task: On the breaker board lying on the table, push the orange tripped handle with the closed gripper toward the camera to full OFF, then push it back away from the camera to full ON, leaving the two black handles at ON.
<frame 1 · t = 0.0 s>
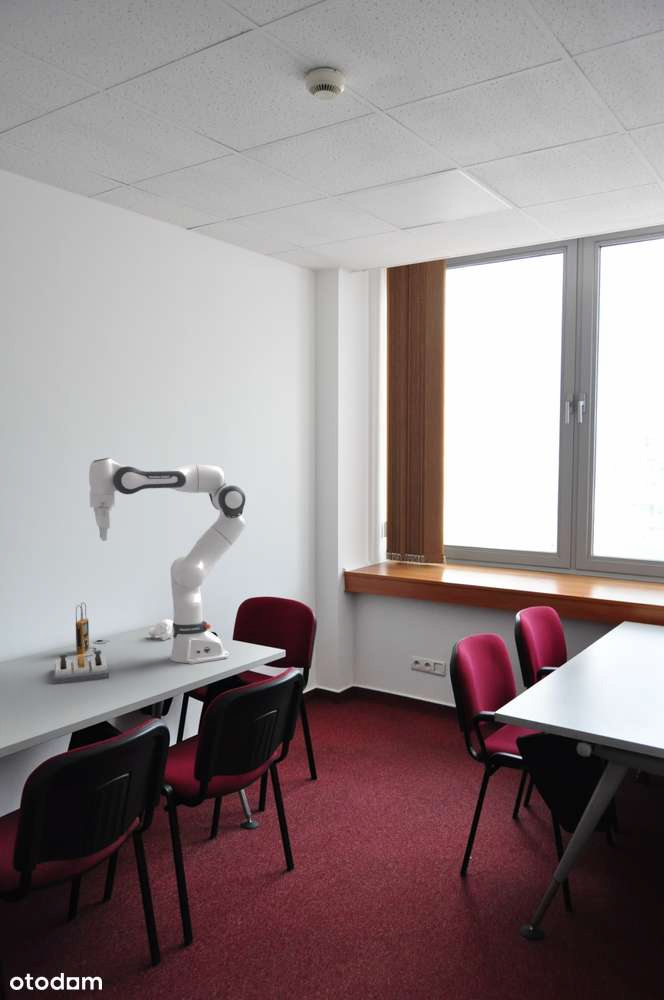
hand: (103, 539, 274), 48 cm above the table, fingers open, 8 cm apart
multimeter: (91, 653, 298), on the table
breaker board: (81, 673, 268), on the table
orange breaker: (80, 661, 267), point 5 cm above the table, slide at 0.0 cm
black breaker near arm: (97, 657, 273), point 5 cm above the table, slide at 3.5 cm
white crumpled lump: (160, 639, 320), on the table
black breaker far: (63, 660, 269), point 5 cm above the table, slide at 3.5 cm
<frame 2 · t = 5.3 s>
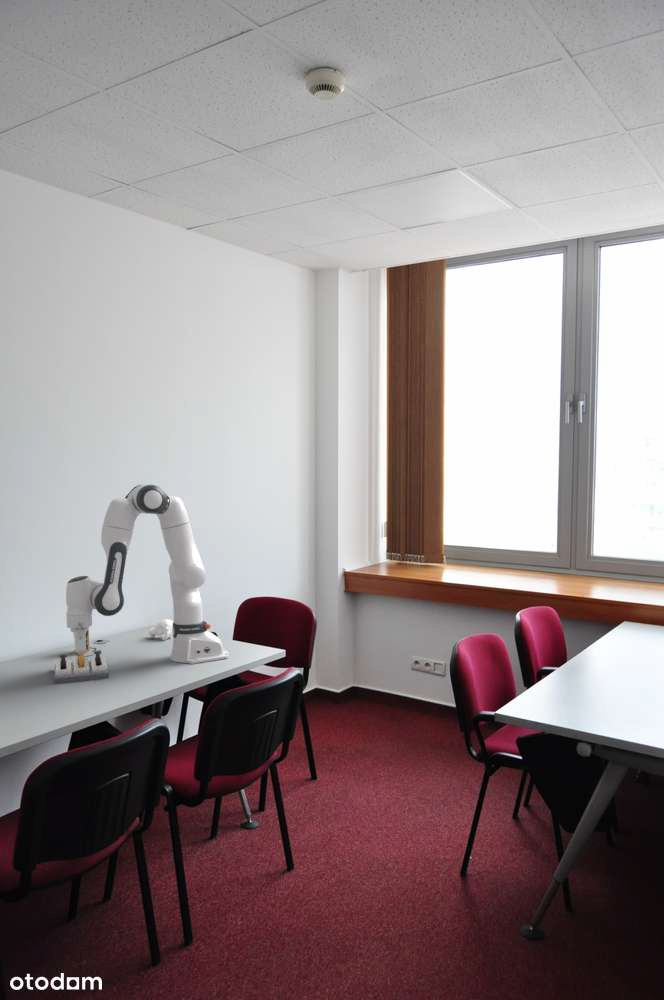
hand: (80, 658, 269), 5 cm above the table, fingers closed
orange breaker: (80, 662, 267), point 5 cm above the table, slide at -0.9 cm, touching gripper
everything else where it was.
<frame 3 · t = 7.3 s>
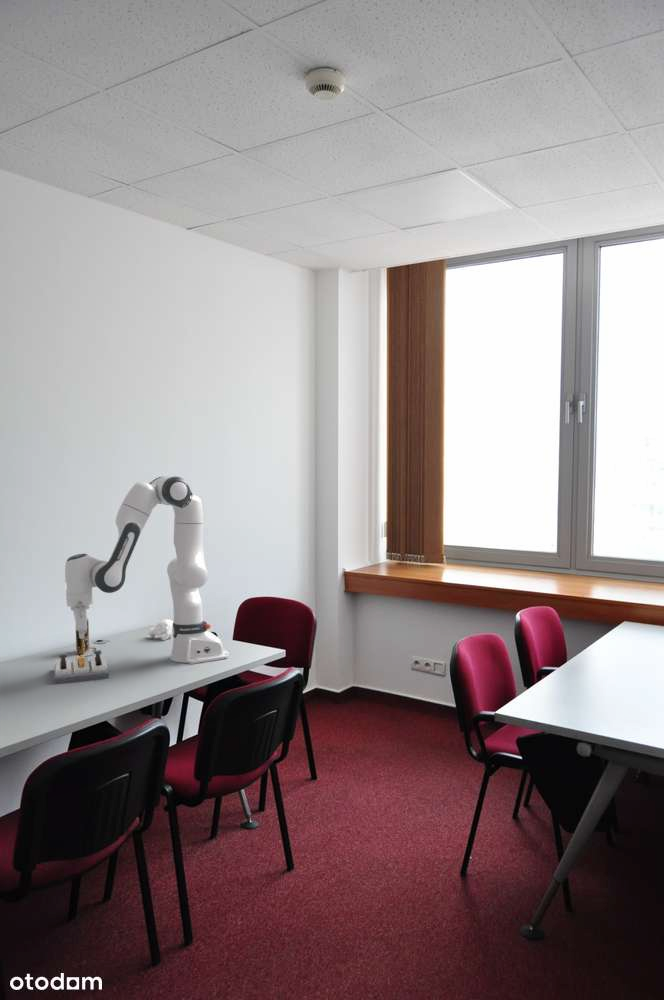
hand: (81, 637, 265), 14 cm above the table, fingers closed
orange breaker: (81, 663, 264), point 5 cm above the table, slide at -3.6 cm
everything else where it was.
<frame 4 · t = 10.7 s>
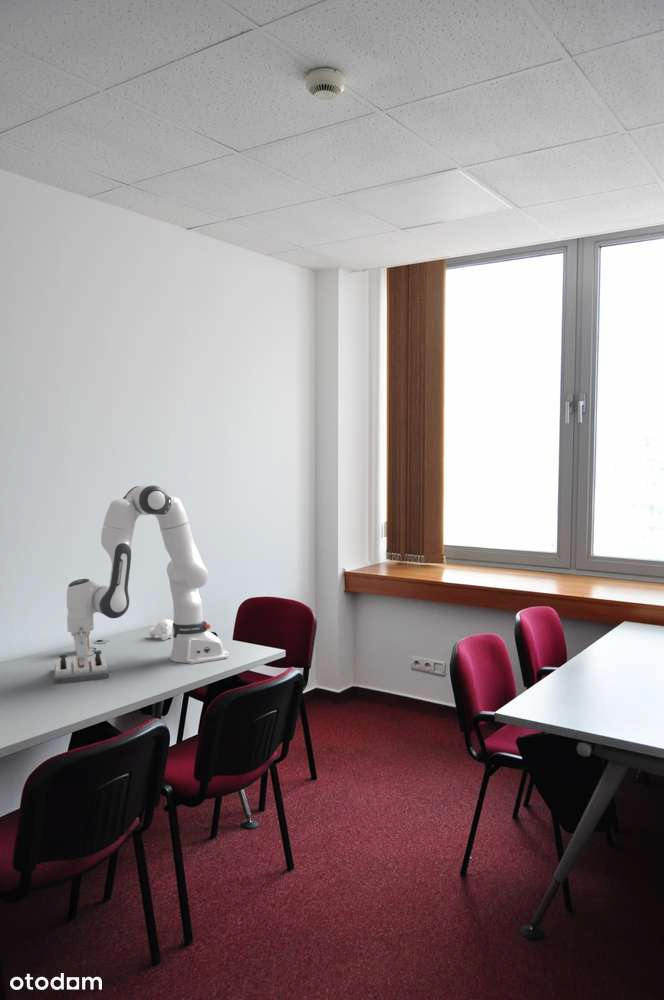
hand: (81, 663, 262), 5 cm above the table, fingers closed
orange breaker: (81, 663, 265), point 5 cm above the table, slide at -2.8 cm, touching gripper
everything else where it was.
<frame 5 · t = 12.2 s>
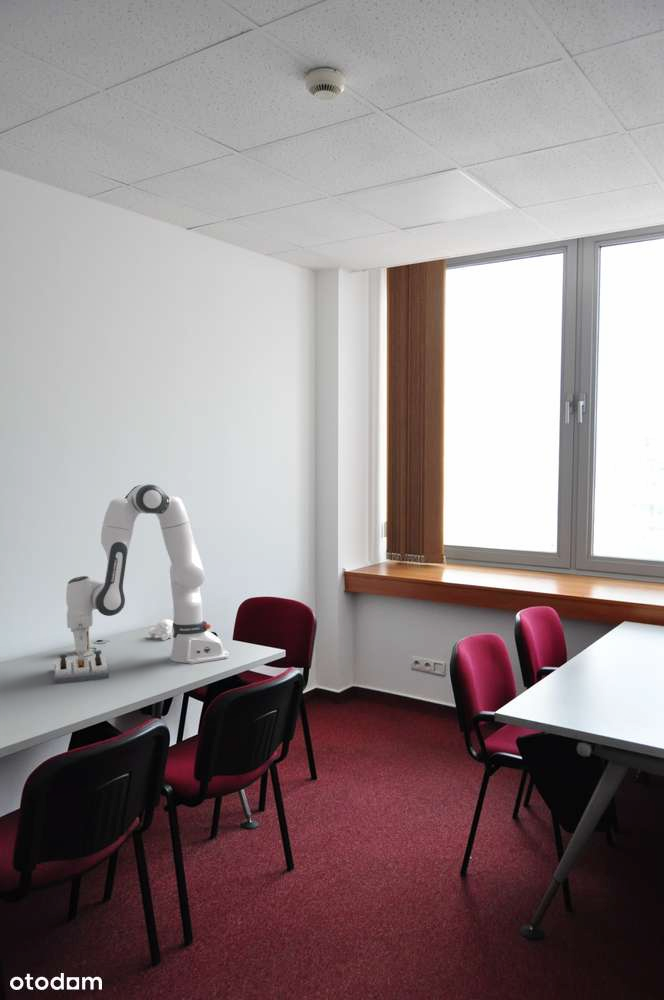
hand: (81, 659, 269), 5 cm above the table, fingers closed
orange breaker: (80, 658, 271), point 5 cm above the table, slide at 3.8 cm, touching gripper
everything else where it was.
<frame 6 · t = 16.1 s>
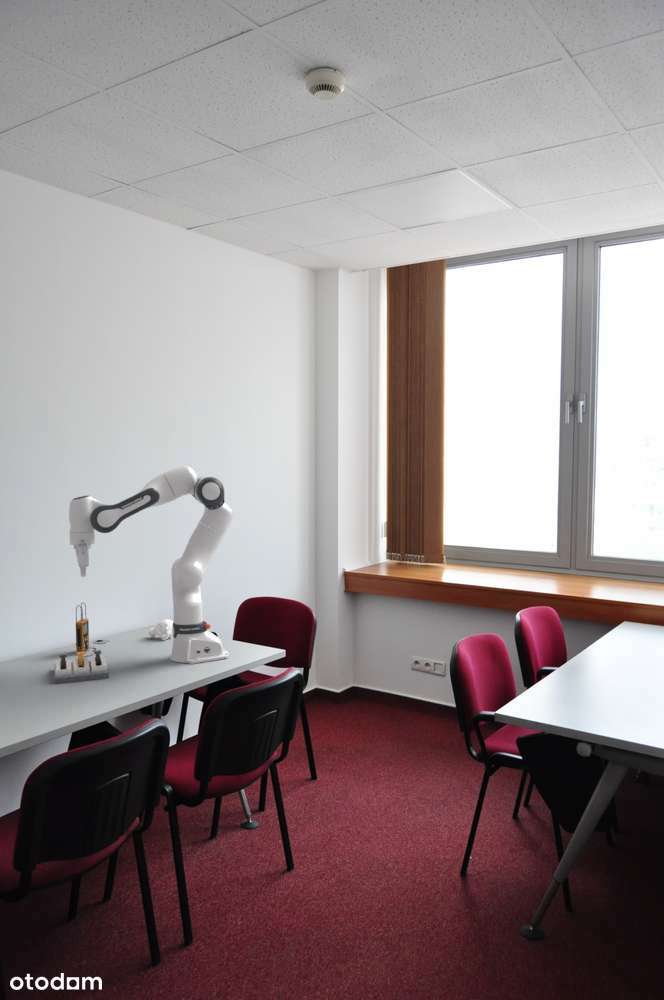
hand: (83, 576, 276), 34 cm above the table, fingers closed
orange breaker: (80, 658, 271), point 5 cm above the table, slide at 3.6 cm
everything else where it was.
at the end: orange breaker slide at 3.6 cm; black breaker near arm slide at 3.5 cm; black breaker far slide at 3.5 cm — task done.
